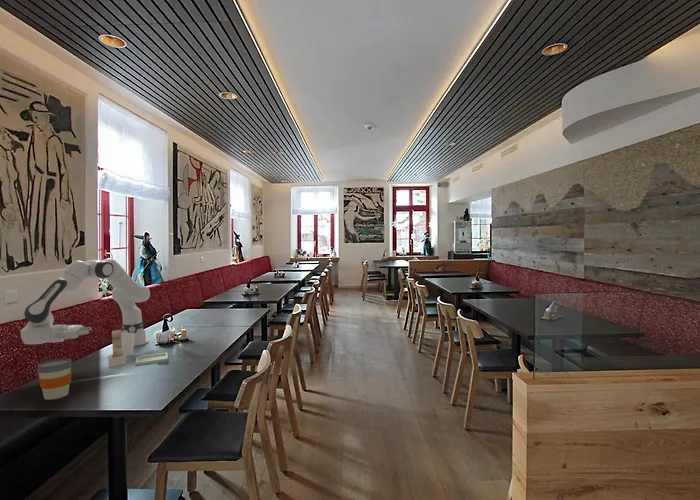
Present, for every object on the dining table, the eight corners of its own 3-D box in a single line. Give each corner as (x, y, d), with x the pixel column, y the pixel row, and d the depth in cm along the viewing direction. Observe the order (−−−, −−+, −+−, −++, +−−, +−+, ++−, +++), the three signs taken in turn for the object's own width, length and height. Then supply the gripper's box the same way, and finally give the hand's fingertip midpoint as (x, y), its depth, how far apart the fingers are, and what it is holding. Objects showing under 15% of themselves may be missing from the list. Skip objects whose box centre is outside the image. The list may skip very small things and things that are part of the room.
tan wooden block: (114, 363, 230) (112, 330, 229) (122, 362, 231) (120, 329, 231) (113, 365, 226) (111, 332, 226) (121, 363, 228) (120, 331, 227)
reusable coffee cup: (53, 390, 192) (51, 358, 192) (79, 390, 192) (78, 357, 191) (31, 401, 180) (29, 367, 179) (59, 401, 179) (58, 366, 179)
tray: (136, 360, 237) (136, 356, 237) (167, 356, 244) (167, 352, 244) (135, 367, 224) (135, 362, 224) (168, 362, 231) (167, 358, 231)
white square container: (110, 364, 231) (110, 354, 231) (126, 362, 234) (126, 352, 234) (108, 368, 224) (108, 358, 223) (125, 366, 227) (125, 356, 227)
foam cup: (127, 359, 241) (126, 336, 240) (113, 358, 243) (112, 336, 242) (139, 354, 250) (138, 332, 250) (125, 353, 252) (124, 332, 252)
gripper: (54, 330, 208) (86, 327, 213) (63, 324, 226) (92, 321, 232) (54, 343, 208) (87, 340, 214) (63, 335, 226) (93, 332, 232)
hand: (90, 330), depth 223 cm, fingers open, 8 cm apart
